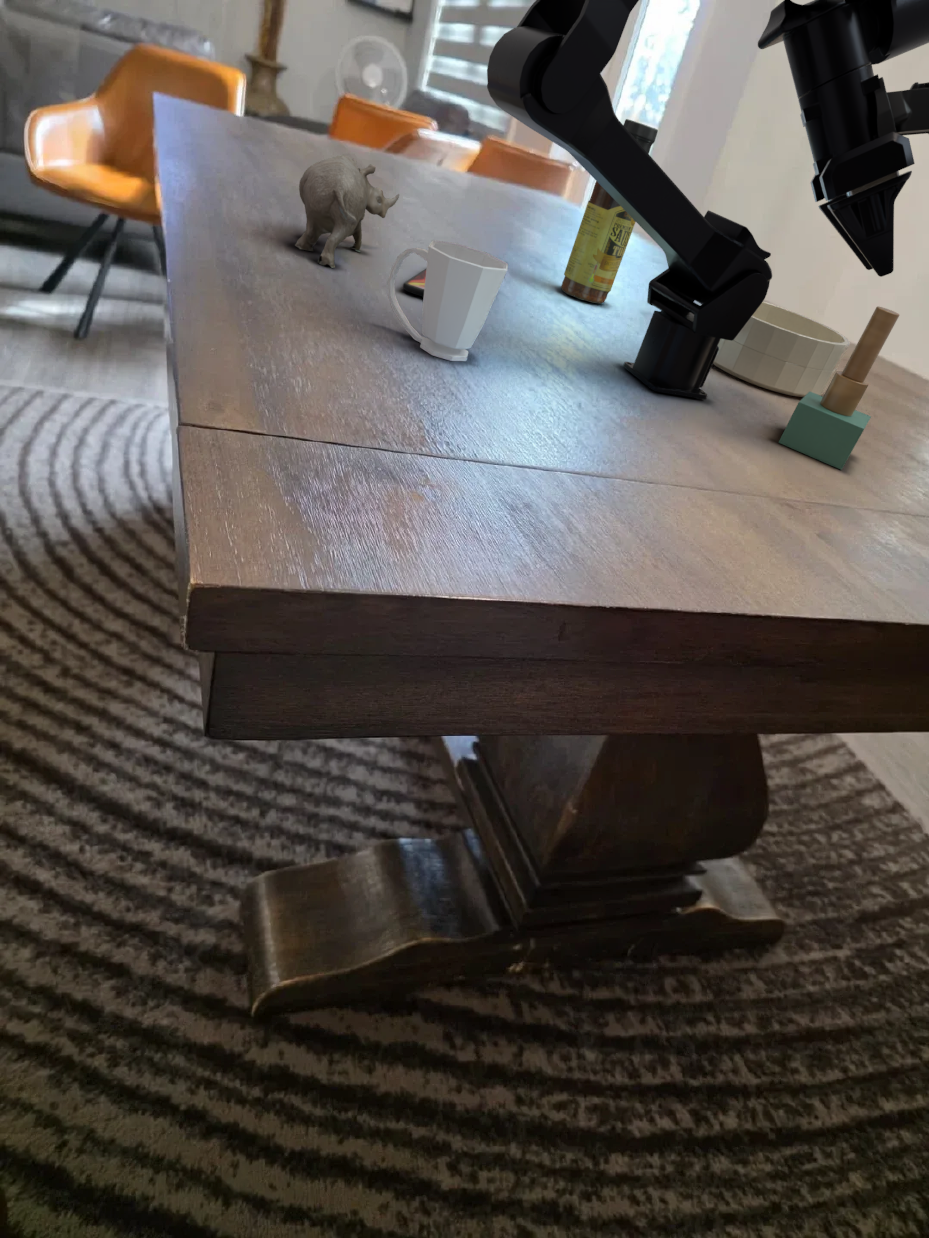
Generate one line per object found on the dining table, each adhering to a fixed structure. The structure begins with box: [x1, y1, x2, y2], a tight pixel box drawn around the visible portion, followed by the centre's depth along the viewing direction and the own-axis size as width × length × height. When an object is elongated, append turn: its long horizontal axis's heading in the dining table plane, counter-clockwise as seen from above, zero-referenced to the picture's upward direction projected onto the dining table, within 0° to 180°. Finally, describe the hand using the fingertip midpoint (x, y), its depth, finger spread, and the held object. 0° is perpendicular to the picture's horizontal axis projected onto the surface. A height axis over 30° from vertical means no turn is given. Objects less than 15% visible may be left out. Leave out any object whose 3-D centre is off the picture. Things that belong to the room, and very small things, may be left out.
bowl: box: [712, 301, 851, 398], centre depth 99 cm, size 15×15×6 cm
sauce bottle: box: [560, 118, 659, 305], centre depth 104 cm, size 6×6×20 cm
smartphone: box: [402, 268, 426, 298], centre depth 92 cm, size 8×1×15 cm
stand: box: [778, 392, 872, 471], centre depth 79 cm, size 6×6×4 cm
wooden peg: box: [820, 305, 900, 416], centre depth 75 cm, size 3×3×9 cm
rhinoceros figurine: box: [294, 154, 400, 269], centre depth 90 cm, size 8×14×15 cm
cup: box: [386, 239, 509, 362], centre depth 72 cm, size 7×10×8 cm
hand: (879, 271), depth 75 cm, fingers open, 9 cm apart
